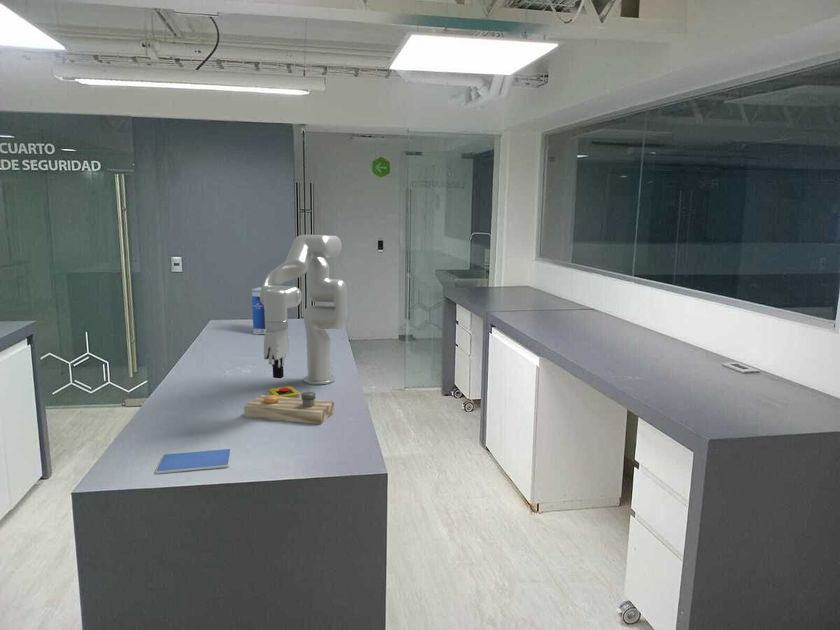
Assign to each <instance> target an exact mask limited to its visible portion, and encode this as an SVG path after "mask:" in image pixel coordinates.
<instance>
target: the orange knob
mask: <svg viewBox="0 0 840 630" xmlns="http://www.w3.org/2000/svg"><path fill="white" fill-rule="evenodd" d="M264 396H265V397H264V402H265V403H269V404H274V403H276V402H278V396H277V395H268V396H267V395H264Z"/></svg>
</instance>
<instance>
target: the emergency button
mask: <svg viewBox="0 0 840 630" xmlns="http://www.w3.org/2000/svg"><path fill="white" fill-rule="evenodd" d="M268 395H277V396H278V397H288V398H300V399H301V394H300V392H298V391H297V390H296V389H295V387H293V386H291V385H289V386H283V387H282V386H281V387H275V388H270V389H268V393H267V395H266V396H268Z"/></svg>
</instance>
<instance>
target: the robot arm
mask: <svg viewBox="0 0 840 630" xmlns="http://www.w3.org/2000/svg"><path fill="white" fill-rule="evenodd" d="M342 247H343V245H342V241H341V239H340V238H339V237H338V236H337V235H328V234H327V235H325V234H300V235H298V236H296V237H295V238H294V240H293V241H292V244H291V247H290V249H289V252H288V255H287V257H286V260H285V261H284V262H283V263H282V264H280V265H278V266H277V267H275V268H274V269H273V270H271V271H270V272H269V273H268V274H267V275H266V277H265V279H264V281H263V283H262V286H261V287H262V288H261V291H260V301H261V303H262V304H263V305H264V308H265V330H266V331H265V335H263V336H264V338H263V358H264V360H268V365H271V367H272V377H273V378H274V379H282V378H284V365H285V359H286V358H287V355H288V354H289V352H290V343H289V341H290V340H289V332H288V329H289V326H288V325H289V324H288V322H289V319H288V309H291V308H292V309H293V308H296V307H298V306H299V305H300V304H301V302H302V300H303V293H302V291H301V289H300V288H298V287H297V286H295V285H294V286H291V285H282V284H285V283H286V282H289V281H293V280H296V279H298V278H301V277H303V276H304V275H306V274H307V295H308V299H309V300H310V301H312V302H314V303H315V302H316V303H333V305H325V304H324V305H322V304H321V305H318V304H316V305H315V304H313V305H309V306H307V307H306V308H305V310H304V311H303V323H304V327H305V334H306V365H307V367H306V369H307V370H306V371H307V375H306V376H305V377H304V378H303V382H304V383H305V384H308V385H315V386H316V385H318V386H319V385H327V384H331V383H333V382H334V381H335V376H334V375H332V374H331V373H332V370H333V367H332V366H331V363H332V362H331V338H330V335H329V334H328V332H327V331H326V330H335V331H337V330H343V329H344V328H345V327H346V326H347V321H348V287H347V283H346V282H345V281H344V280H342V279H339V278H330V266H329V263H328V262H327V260H326V258H328V259H329V258H337V257H339V256H340V254H341V252H342Z"/></svg>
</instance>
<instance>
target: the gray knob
mask: <svg viewBox="0 0 840 630" xmlns="http://www.w3.org/2000/svg"><path fill="white" fill-rule="evenodd" d="M300 399H302V400H303V407H312V406H314V400H316V392H314V391H305V392H301V394H300Z"/></svg>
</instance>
